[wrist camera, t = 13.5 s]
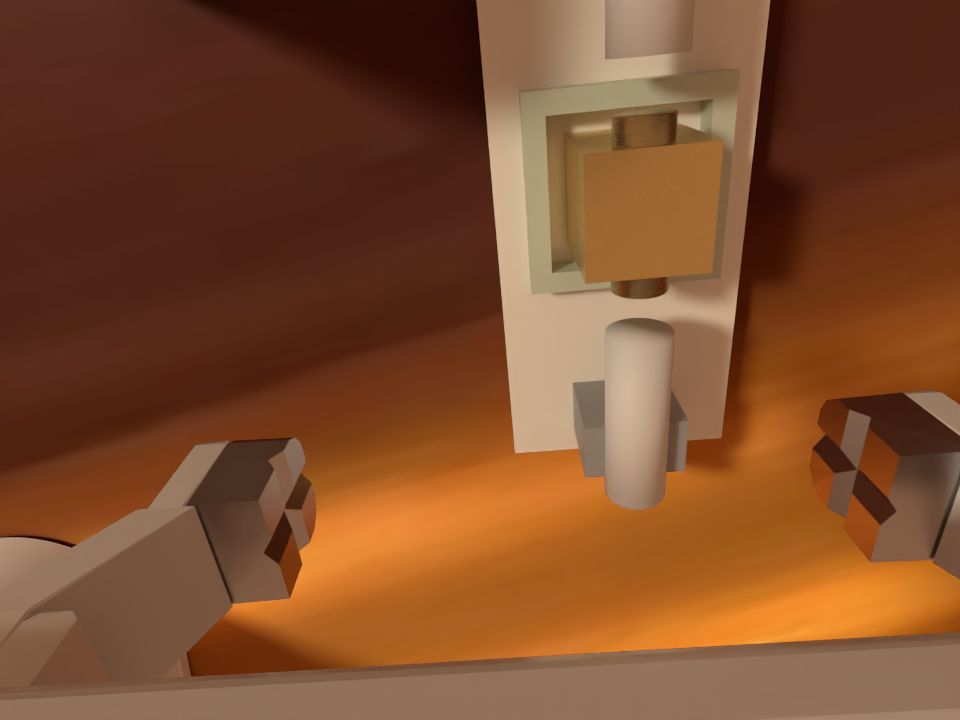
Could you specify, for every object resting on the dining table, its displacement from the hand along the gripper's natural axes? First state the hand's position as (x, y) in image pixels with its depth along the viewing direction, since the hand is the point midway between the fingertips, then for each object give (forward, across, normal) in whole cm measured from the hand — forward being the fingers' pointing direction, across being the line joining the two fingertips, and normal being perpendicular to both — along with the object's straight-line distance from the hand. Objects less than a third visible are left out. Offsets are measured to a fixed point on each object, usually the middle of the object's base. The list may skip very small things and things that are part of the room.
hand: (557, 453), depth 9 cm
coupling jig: (+22, +6, 0) cm, 23 cm away
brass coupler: (+21, +5, 0) cm, 21 cm away
